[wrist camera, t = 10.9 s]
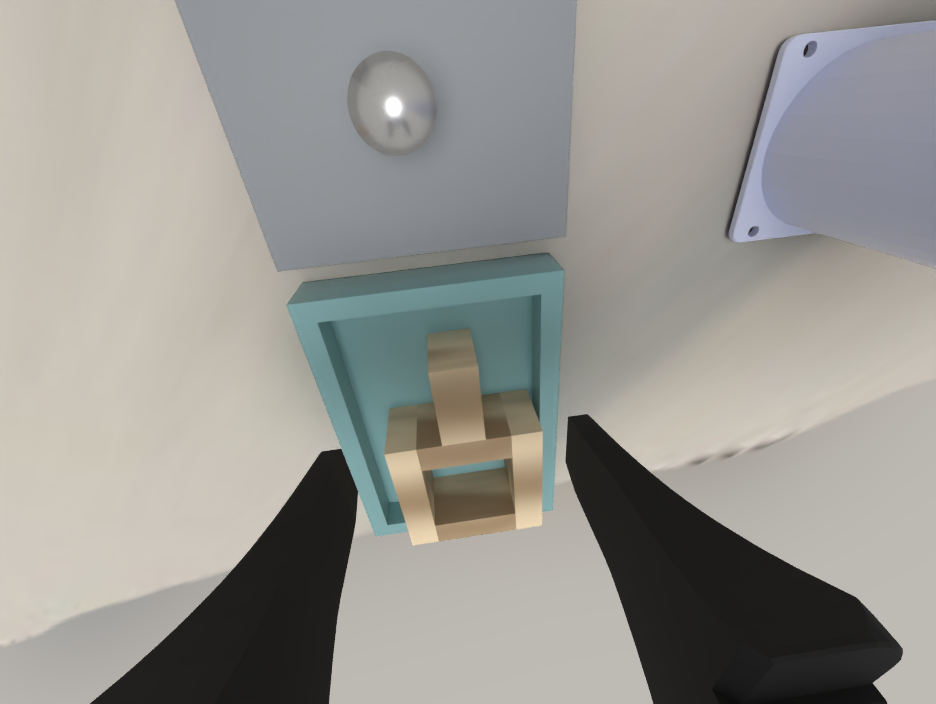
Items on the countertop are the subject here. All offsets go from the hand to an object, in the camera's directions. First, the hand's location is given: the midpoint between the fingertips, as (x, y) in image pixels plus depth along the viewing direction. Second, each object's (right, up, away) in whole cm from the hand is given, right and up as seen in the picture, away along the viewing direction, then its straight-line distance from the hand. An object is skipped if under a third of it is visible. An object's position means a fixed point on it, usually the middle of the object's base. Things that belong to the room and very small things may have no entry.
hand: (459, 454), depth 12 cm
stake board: (-2, +14, +2) cm, 14 cm away
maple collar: (0, -1, +11) cm, 11 cm away
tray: (-1, 0, +11) cm, 11 cm away
